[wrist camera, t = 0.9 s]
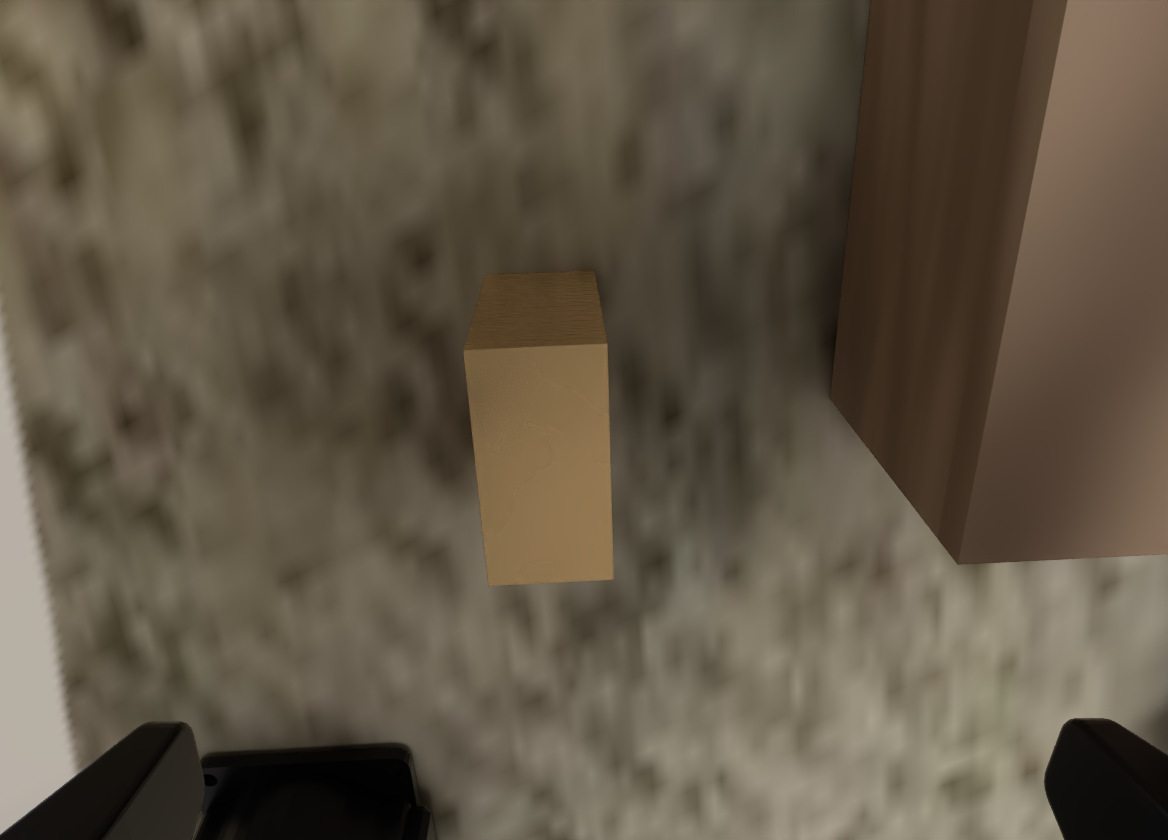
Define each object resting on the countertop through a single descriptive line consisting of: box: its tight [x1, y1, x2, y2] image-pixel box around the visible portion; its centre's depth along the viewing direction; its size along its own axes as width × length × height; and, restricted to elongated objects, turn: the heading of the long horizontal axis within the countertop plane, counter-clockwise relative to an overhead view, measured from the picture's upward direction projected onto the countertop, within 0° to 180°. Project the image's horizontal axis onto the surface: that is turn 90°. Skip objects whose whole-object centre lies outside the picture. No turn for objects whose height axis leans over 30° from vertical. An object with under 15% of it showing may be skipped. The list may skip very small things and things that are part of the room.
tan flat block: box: [463, 270, 613, 586], centre depth 17 cm, size 2×5×5 cm, turn 2°
